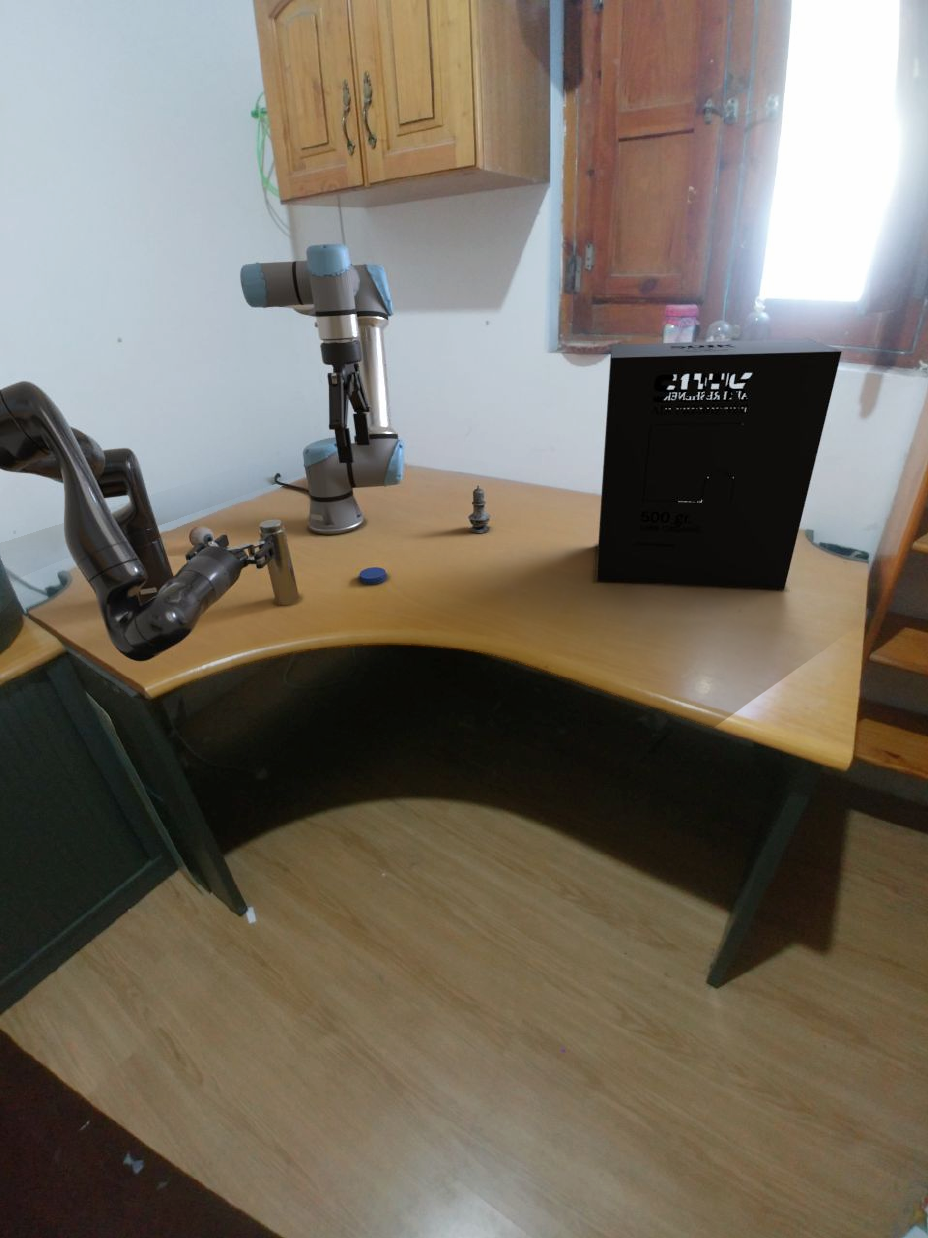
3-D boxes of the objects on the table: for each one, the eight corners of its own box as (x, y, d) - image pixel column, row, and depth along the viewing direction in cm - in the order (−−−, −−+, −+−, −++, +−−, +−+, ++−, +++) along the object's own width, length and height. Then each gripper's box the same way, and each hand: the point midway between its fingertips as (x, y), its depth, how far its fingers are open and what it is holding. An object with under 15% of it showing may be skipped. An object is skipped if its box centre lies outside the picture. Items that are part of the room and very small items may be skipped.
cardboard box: (763, 549, 141) (808, 338, 118) (784, 589, 124) (841, 351, 101) (598, 544, 148) (611, 344, 126) (596, 581, 131) (611, 357, 109)
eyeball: (203, 554, 156) (196, 532, 153) (187, 550, 159) (181, 528, 156) (222, 546, 160) (216, 524, 157) (206, 542, 163) (200, 521, 160)
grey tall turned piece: (488, 533, 158) (487, 489, 152) (466, 533, 159) (464, 488, 153) (492, 525, 163) (491, 481, 157) (471, 524, 164) (469, 481, 158)
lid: (391, 576, 139) (391, 570, 138) (375, 587, 135) (374, 580, 134) (371, 571, 142) (370, 565, 141) (354, 581, 138) (353, 575, 137)
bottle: (271, 602, 131) (252, 525, 122) (288, 592, 134) (271, 517, 125) (286, 607, 128) (268, 529, 119) (304, 597, 132) (288, 521, 123)
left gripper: (242, 556, 96) (280, 519, 110) (159, 556, 98) (206, 520, 112) (253, 597, 100) (288, 557, 114) (173, 597, 101) (216, 557, 115)
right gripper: (338, 334, 125) (353, 438, 135) (298, 349, 103) (319, 471, 114) (374, 333, 124) (386, 437, 134) (340, 347, 102) (357, 470, 113)
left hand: (247, 539), depth 113 cm, fingers open, 8 cm apart
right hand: (355, 453), depth 124 cm, fingers open, 13 cm apart
